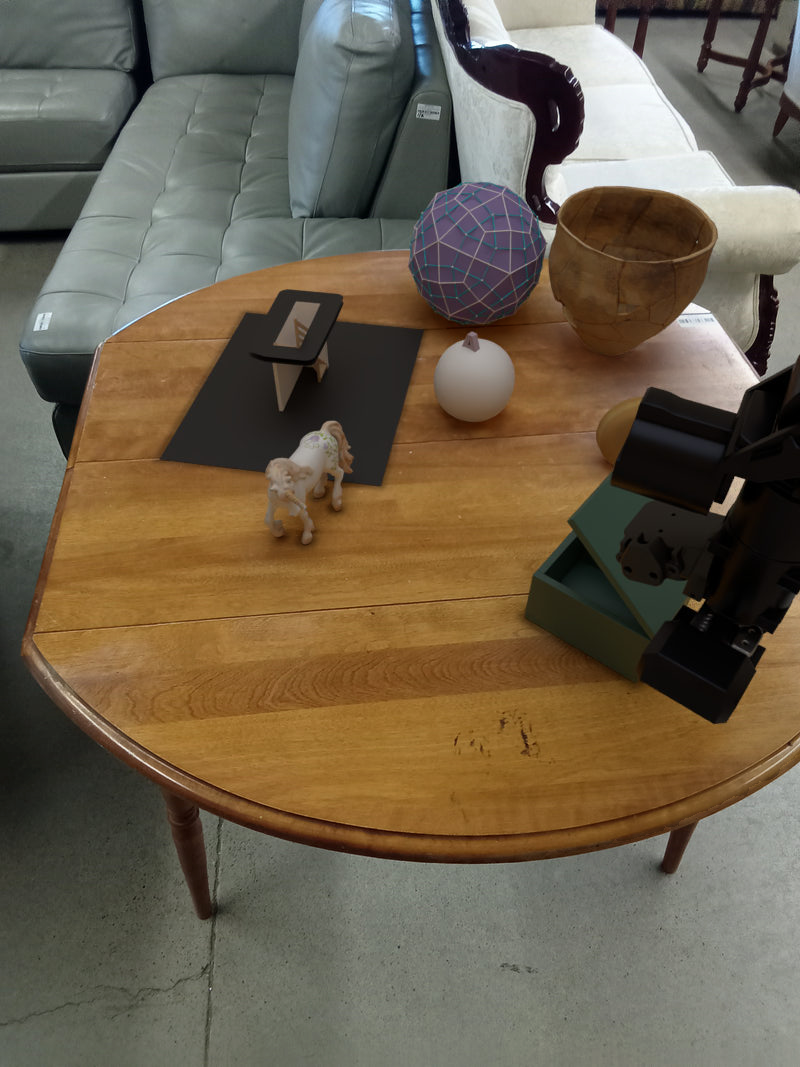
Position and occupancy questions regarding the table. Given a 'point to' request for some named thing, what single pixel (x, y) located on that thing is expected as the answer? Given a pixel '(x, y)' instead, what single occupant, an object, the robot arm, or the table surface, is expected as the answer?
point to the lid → (602, 535)
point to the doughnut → (616, 428)
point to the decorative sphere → (476, 253)
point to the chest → (586, 609)
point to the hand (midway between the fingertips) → (702, 667)
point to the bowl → (627, 263)
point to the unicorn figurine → (307, 476)
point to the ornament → (474, 379)
